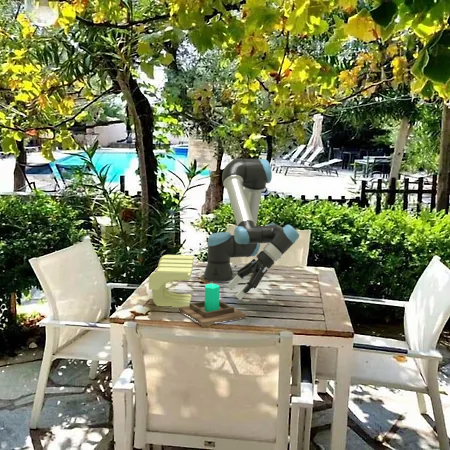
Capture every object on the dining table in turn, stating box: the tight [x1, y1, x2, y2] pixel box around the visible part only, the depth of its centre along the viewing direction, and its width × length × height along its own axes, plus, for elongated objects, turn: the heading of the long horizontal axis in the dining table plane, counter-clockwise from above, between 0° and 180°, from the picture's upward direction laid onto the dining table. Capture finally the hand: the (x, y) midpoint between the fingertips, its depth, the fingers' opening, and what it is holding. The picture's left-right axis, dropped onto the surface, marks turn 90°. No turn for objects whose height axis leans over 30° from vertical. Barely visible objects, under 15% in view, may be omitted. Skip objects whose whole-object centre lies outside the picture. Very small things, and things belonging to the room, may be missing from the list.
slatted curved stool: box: [148, 254, 194, 308], centre depth 225 cm, size 30×16×18 cm, turn 179°
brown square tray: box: [178, 299, 246, 328], centre depth 211 cm, size 20×20×4 cm
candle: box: [204, 281, 221, 312], centre depth 210 cm, size 6×6×12 cm
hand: (233, 292), depth 212 cm, fingers open, 13 cm apart
